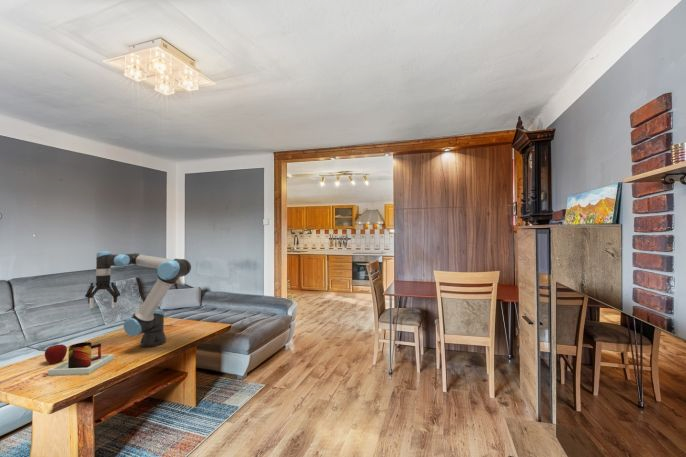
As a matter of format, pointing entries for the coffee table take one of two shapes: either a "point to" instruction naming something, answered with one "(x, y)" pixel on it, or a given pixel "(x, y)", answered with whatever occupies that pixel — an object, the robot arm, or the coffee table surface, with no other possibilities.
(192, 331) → the coffee table surface
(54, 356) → the apple
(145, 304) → the robot arm
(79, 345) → the mug
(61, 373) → the tray
